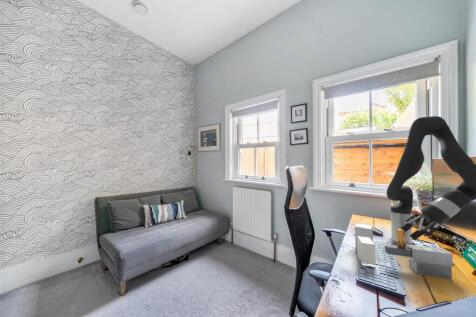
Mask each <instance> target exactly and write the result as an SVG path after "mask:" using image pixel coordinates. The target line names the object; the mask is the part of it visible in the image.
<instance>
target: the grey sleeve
mask: <svg viewBox="0 0 476 317" xmlns="http://www.w3.org/2000/svg"><path fill="white" fill-rule="evenodd" d="M405 247H409V248H410V249H411V250H412V257H408V267H409V268H410V269H411V270H412V271H413V272H414V273H415V274H417V275H422V276H427V277H432V278H433V277H434V278H441V279H446V280H453V270H452V268H453V267H454V265H453V264H454V262H453V260H454V259H453V258H454V257H453V256H454V255H453V253H452V252H450V251H448V250H446V249H445V248H441V247H432V246H425V245H417V244H405Z"/></svg>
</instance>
